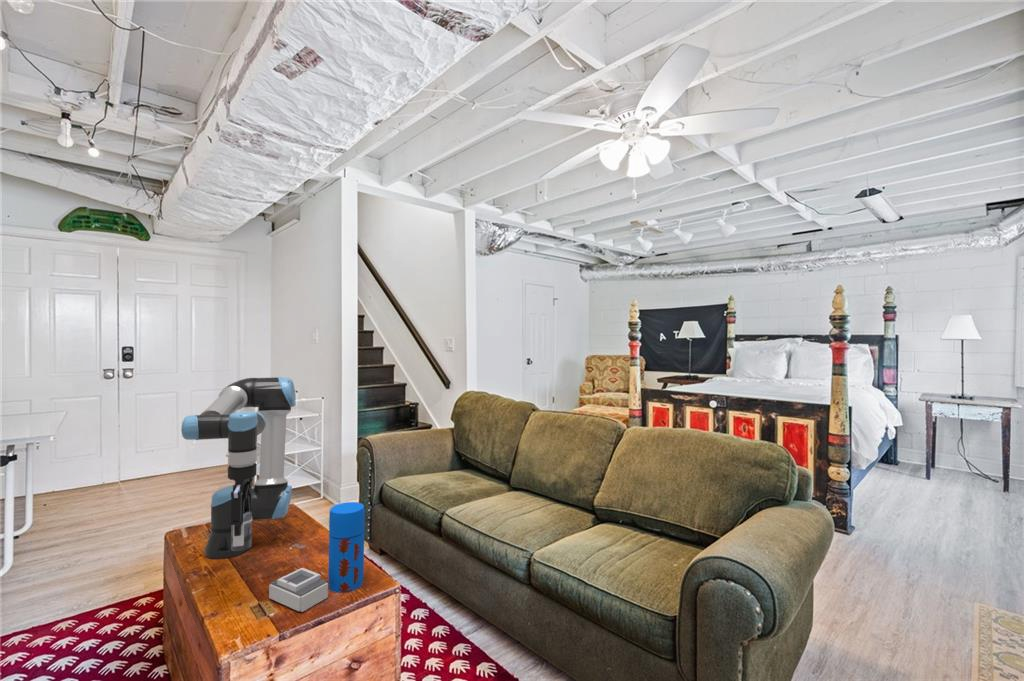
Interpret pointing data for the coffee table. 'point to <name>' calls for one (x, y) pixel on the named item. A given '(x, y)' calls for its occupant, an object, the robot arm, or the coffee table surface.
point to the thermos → (346, 547)
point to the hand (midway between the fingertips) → (241, 540)
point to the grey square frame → (299, 589)
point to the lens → (247, 532)
